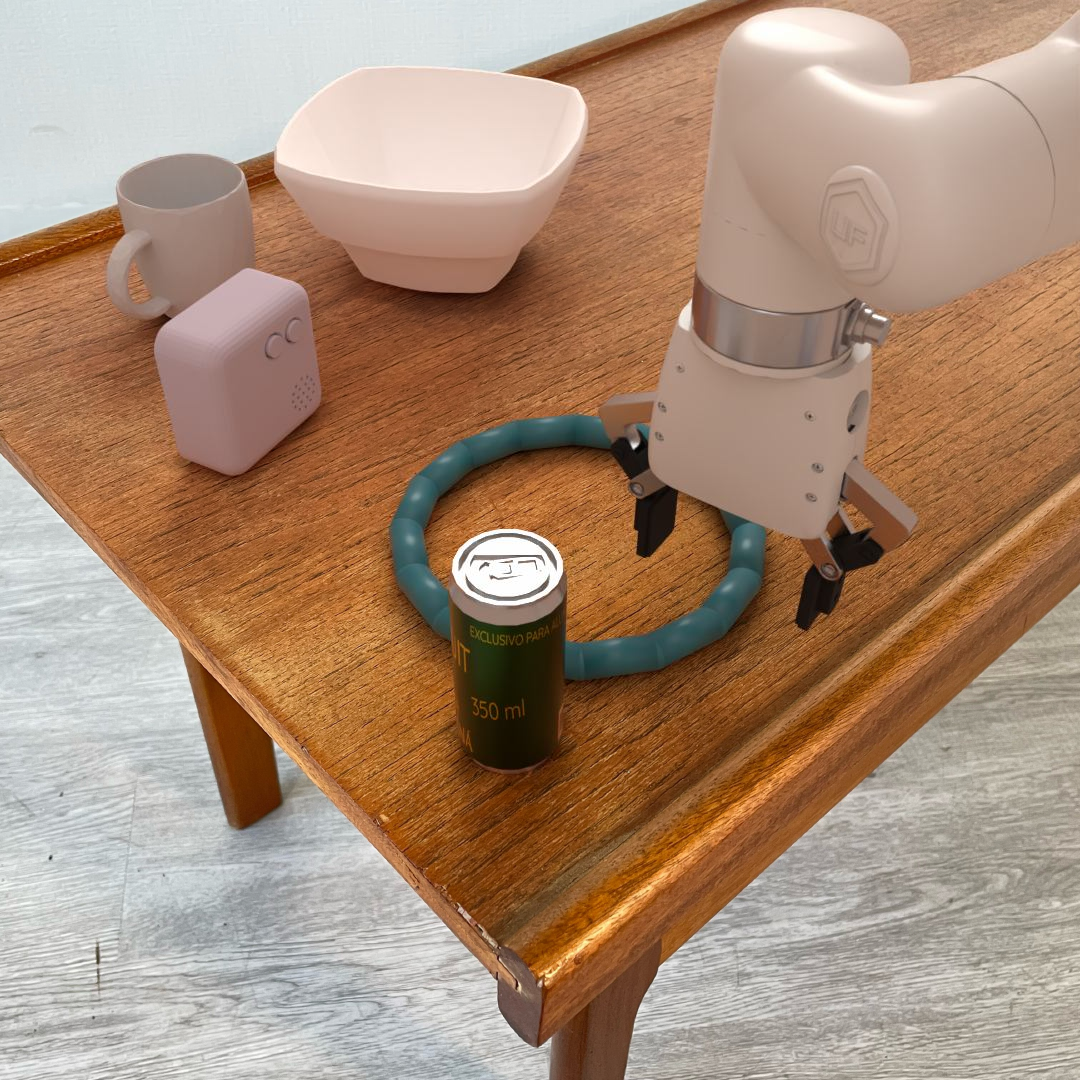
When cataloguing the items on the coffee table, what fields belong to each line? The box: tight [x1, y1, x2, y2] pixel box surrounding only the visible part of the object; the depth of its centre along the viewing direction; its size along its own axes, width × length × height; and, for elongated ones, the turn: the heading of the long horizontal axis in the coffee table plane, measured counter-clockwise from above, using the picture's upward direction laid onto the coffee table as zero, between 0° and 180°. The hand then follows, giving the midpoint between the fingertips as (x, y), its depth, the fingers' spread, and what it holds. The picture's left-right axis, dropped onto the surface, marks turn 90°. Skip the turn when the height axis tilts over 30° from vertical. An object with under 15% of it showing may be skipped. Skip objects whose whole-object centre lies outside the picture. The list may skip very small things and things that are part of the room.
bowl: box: [273, 65, 589, 294], centre depth 93 cm, size 22×22×12 cm
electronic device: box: [153, 268, 322, 477], centre depth 76 cm, size 10×5×10 cm, turn 152°
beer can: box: [447, 528, 568, 775], centre depth 57 cm, size 5×5×12 cm
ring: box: [388, 413, 768, 682], centre depth 72 cm, size 22×22×2 cm
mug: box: [105, 152, 256, 321], centre depth 87 cm, size 13×9×10 cm
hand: (731, 577), depth 66 cm, fingers open, 9 cm apart
